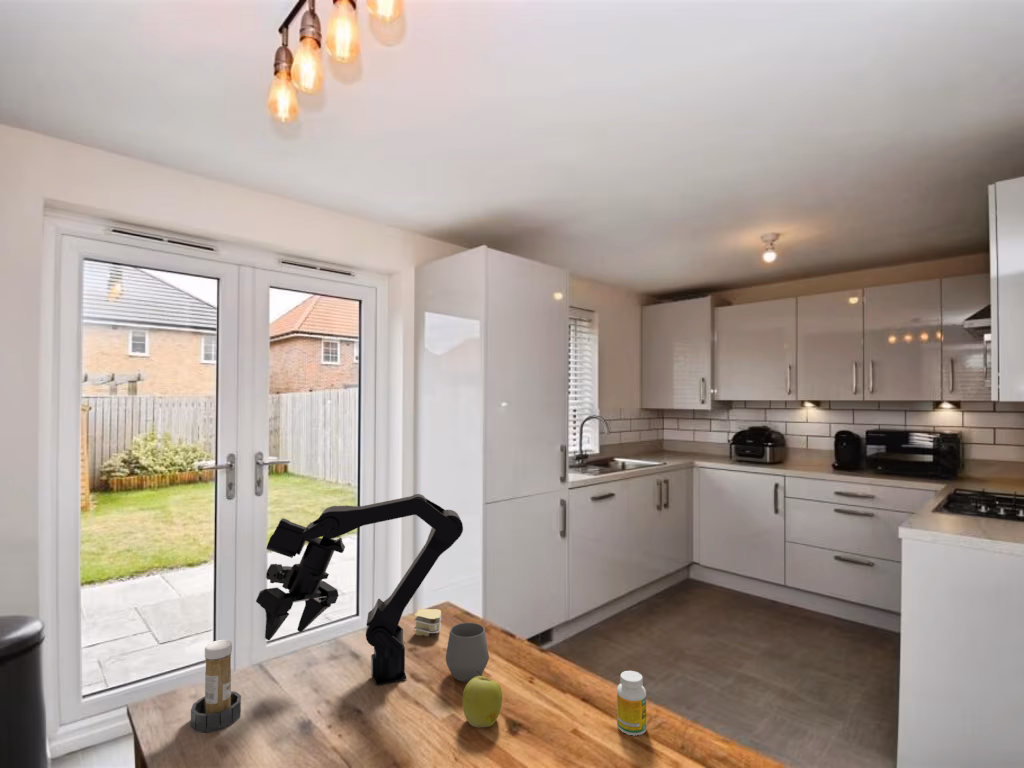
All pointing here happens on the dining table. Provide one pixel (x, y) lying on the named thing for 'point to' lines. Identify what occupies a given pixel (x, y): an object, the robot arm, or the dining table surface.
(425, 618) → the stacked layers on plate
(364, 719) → the dining table surface
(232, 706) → the bottle holder
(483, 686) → the apple
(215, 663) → the sprinkles bottle
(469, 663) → the cup
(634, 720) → the supplement bottle
